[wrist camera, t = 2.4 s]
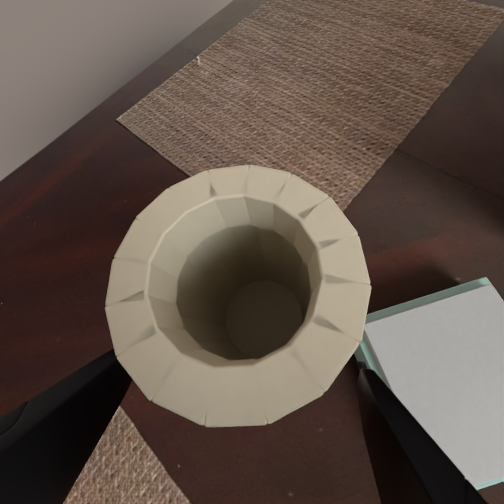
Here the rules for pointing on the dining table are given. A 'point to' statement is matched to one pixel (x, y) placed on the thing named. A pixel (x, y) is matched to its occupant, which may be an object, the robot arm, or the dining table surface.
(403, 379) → the scale
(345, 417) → the dining table surface
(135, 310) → the jar
